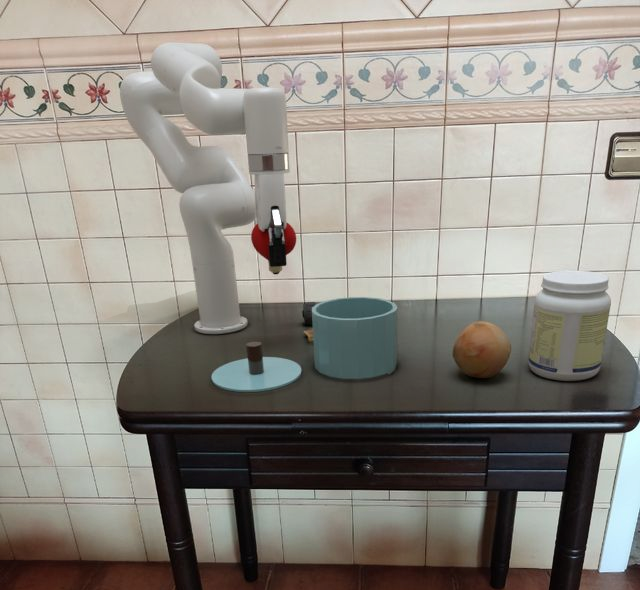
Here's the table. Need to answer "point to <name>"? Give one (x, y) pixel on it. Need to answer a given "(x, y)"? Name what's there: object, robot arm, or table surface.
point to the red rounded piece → (262, 242)
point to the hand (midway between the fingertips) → (275, 261)
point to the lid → (256, 372)
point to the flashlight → (308, 312)
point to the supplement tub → (569, 325)
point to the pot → (355, 337)
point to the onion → (481, 350)
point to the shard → (309, 335)
